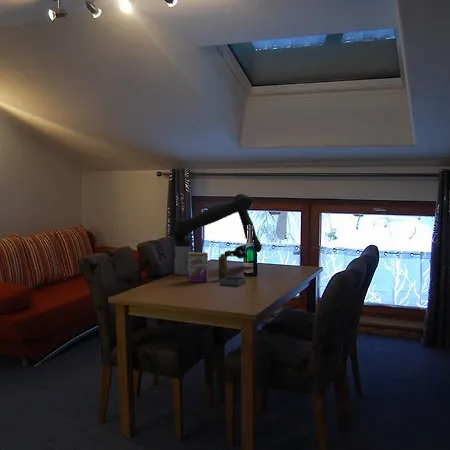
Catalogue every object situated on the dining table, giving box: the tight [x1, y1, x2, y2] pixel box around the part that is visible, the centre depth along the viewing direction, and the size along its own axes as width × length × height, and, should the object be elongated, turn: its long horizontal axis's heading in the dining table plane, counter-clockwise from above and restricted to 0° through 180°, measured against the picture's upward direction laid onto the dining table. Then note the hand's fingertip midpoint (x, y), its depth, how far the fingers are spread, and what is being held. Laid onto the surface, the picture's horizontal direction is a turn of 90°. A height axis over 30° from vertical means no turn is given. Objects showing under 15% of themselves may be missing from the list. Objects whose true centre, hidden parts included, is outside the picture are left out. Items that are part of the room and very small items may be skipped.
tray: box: [219, 275, 247, 287], centre depth 286 cm, size 11×10×3 cm
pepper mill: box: [218, 253, 228, 281], centre depth 297 cm, size 5×5×15 cm
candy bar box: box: [187, 251, 209, 283], centre depth 293 cm, size 11×5×16 cm, turn 84°
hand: (231, 255), depth 307 cm, fingers open, 8 cm apart
